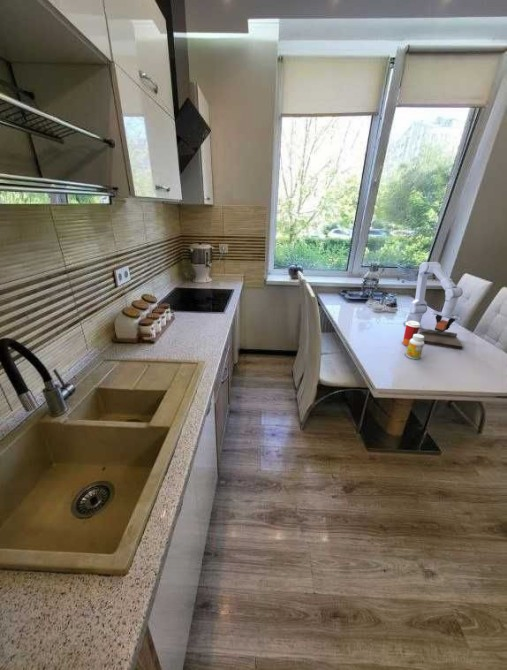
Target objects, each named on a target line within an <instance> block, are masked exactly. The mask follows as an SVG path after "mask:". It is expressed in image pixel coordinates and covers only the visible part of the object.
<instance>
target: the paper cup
mask: <svg viewBox="0 0 507 670" xmlns="http://www.w3.org/2000/svg"><path fill="white" fill-rule="evenodd" d="M420 327H421V322H420V323H419V322H416V321H408V322H407V323H406V326H405V329H404V335H403V339H402V344H403V345H404V346H406V347H408V345H409V342H410V339H412V338H413V335H414V334H419V330H420V329H421V328H422V327H421V328H420Z"/></svg>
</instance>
